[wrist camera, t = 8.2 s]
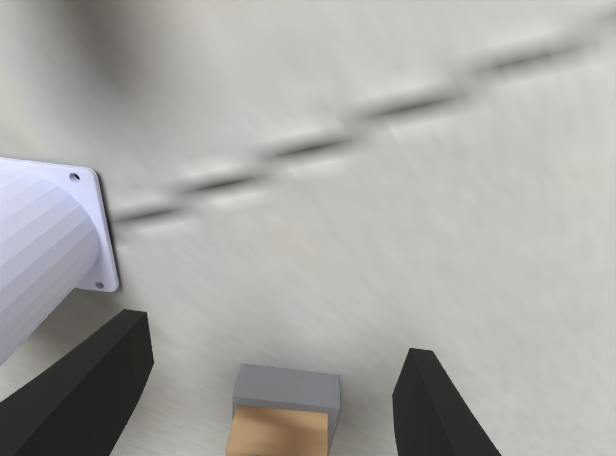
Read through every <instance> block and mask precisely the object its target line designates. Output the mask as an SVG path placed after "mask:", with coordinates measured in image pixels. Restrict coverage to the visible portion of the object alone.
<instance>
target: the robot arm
mask: <svg viewBox="0 0 616 456" xmlns="http://www.w3.org/2000/svg"><path fill="white" fill-rule="evenodd" d="M74 173H75V174H77V175H78V176H79V178H80V179H77V178H76V177H75V175H74ZM100 282H101V283H102V284H101V283H100ZM118 286H119V281H118V276H117V271H116V266H115V261H114V256H113V251H112V246H111V241H110V236H109V231H108V226H107V221H106V216H105V211H104V206H103V201H102V195H101V190H100V185H99V180H98V176H97V174H96V173H95V172H94V171H93V170H92V169H90V168H87V167H80V166H71V165H63V164H54V163H45V162H37V161H28V160H19V159H11V158H2V157H0V367H1V366H2V365H3V364H4V363H5V361H6V360H7V359H8V358H9V357H10V356H11V355H12V354H13V353H14V352H15V351H16V350H17V349H18V348H19V346H20V345H21V344H22V343H23V342H24V341H25V340H26V339H27V338H28V337H29V336H30V335H31V334H32V333H33V331H34V330H35V329H36V328H37V327H38V326H39V325H40V324H41V323H42V322H43V321H44V320H45V319H46V318H47V316H48V315H49V314H50V313H51V312H52V311H53V310H54V309H55V308H56V307H57V306H58V305H59V304H60V303H61V301H62V300H63V299H64V298H65V297H66V296H67V295H68V294H69V293H70V292H71V291H72V290H73V289H74V288H77V289H86V290H95V291H104V292H114V291H115V290H116V289H117V288H118ZM153 364H154V360H153V353H152V346H151V339H150V332H149V325H148V318H147V312H141V311H134V310H127V309H124V310H123V311H121V312H120V313H119V314H118V315H116V316H115V317H114V318H112V319H111V320H110V321H108V322H107V323H106V324H105V325H103V326H102V327H101V328H100V329H98V330H97V331H96V332H95V333H93V334H92V335H91V336H90V337H88V338H87V339H86V340H84V341H83V342H82V343H81V344H79V345H78V346H77V347H76V348H74V349H73V350H72V351H70V352H69V353H68V354H66V355H65V356H64V357H62V358H61V359H60V360H58V361H57V362H56V363H55V364H53V365H52V366H51V367H49V368H48V369H47V370H45V371H44V372H43V373H41V374H40V375H38V376H37V377H36V378H34V379H33V380H32V381H30V382H29V383H27V384H26V385H24V386H23V387H22V388H20V389H19V390H17V391H16V392H15V393H13V394H12V395H10V396H9V397H7V398H6V399H5V400H3V401H2V402H0V456H109V455H110V453H111V451H112V450H113V448H114V446H115V444H116V442H117V440H118V439H119V437H120V435H121V433H122V431H123V429H124V427H125V426H126V424H127V422H128V420H129V418H130V416H131V414H132V413H133V411H134V409H135V407H136V405H137V403H138V401H139V399H140V397H141V394H142V392H143V389H144V387H145V385H146V382H147V380H148V377H149V374H150V372H151V369H152V367H153ZM392 398H393V417H394V430H395V439H396V445H397V451H398V456H501V454H500V453H499V451H498V450H497V449H496V447H495V446H494V444H493V443H492V442H491V440H490V439H489V437H488V436H487V434H486V433H485V431H484V430H483V428H482V427H481V426H480V424H479V423H478V421H477V420H476V418H475V417H474V415H473V414H472V412H471V411H470V409H469V408H468V406H467V405H466V403H465V402H464V400H463V398H462V397H461V395H460V394H459V392H458V391H457V389H456V387H455V386H454V384H453V383H452V381H451V380H450V378H449V376H448V375H447V373H446V371H445V370H444V368H443V367H442V365H441V363H440V362H439V360H438V359H437V357H436V355H435V354H434V352H433V351H430V350H423V349H415V348H410V349H409V352H408V354H407V357H406V360H405V362H404V365H403V368H402V371H401V373H400V376H399V379H398V381H397V384H396V387H395V389H394V392H393V395H392Z"/></svg>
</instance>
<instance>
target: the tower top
mask: <svg viewBox="0 0 616 456" xmlns="http://www.w3.org/2000/svg"><path fill="white" fill-rule="evenodd" d="M327 430H328V413H317V412H307V411H297V410H286V409H276V408H265V407H255V406H244V405H237V406H236V410H235V415H234V419H233V423H232V427H231V431H230V435H229V440H228V444H227V448H226V456H252V455H255V456H327Z"/></svg>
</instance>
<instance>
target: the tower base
mask: <svg viewBox="0 0 616 456" xmlns="http://www.w3.org/2000/svg"><path fill="white" fill-rule="evenodd" d="M237 405H244V406H255V407H265V408H276V409H286V410H297V411H307V412H317V413H328V430H327V456H328V455H329V451H330V447H331V443H332V439H333V435H334V432H335V428H336V424H337V420H338V416H339V412H340V382H339V375H333V374H324V373H316V372H307V371H299V370H290V369H282V368H273V367H265V366H256V365H248V364H241V367H240V371H239V375H238V378H237V382H236V386H235V390H234V394H233V419H234V415H235V410H236V406H237Z"/></svg>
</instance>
